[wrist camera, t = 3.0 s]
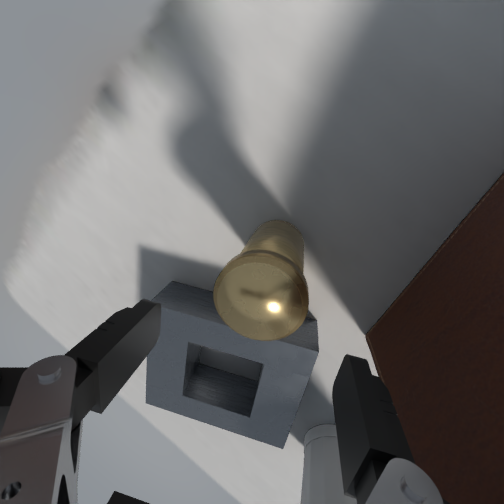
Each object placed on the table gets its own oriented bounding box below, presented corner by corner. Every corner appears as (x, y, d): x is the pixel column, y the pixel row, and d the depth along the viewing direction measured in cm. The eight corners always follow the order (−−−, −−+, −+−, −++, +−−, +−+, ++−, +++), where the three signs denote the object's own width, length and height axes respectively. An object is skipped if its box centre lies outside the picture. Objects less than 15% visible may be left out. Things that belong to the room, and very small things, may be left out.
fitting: (253, 210, 21) (217, 248, 12) (315, 224, 20) (321, 273, 12) (243, 265, 23) (206, 329, 14) (299, 279, 22) (294, 355, 14)
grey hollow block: (172, 281, 25) (148, 303, 21) (317, 320, 23) (318, 352, 19) (165, 371, 29) (145, 402, 26) (286, 409, 28) (283, 448, 24)
